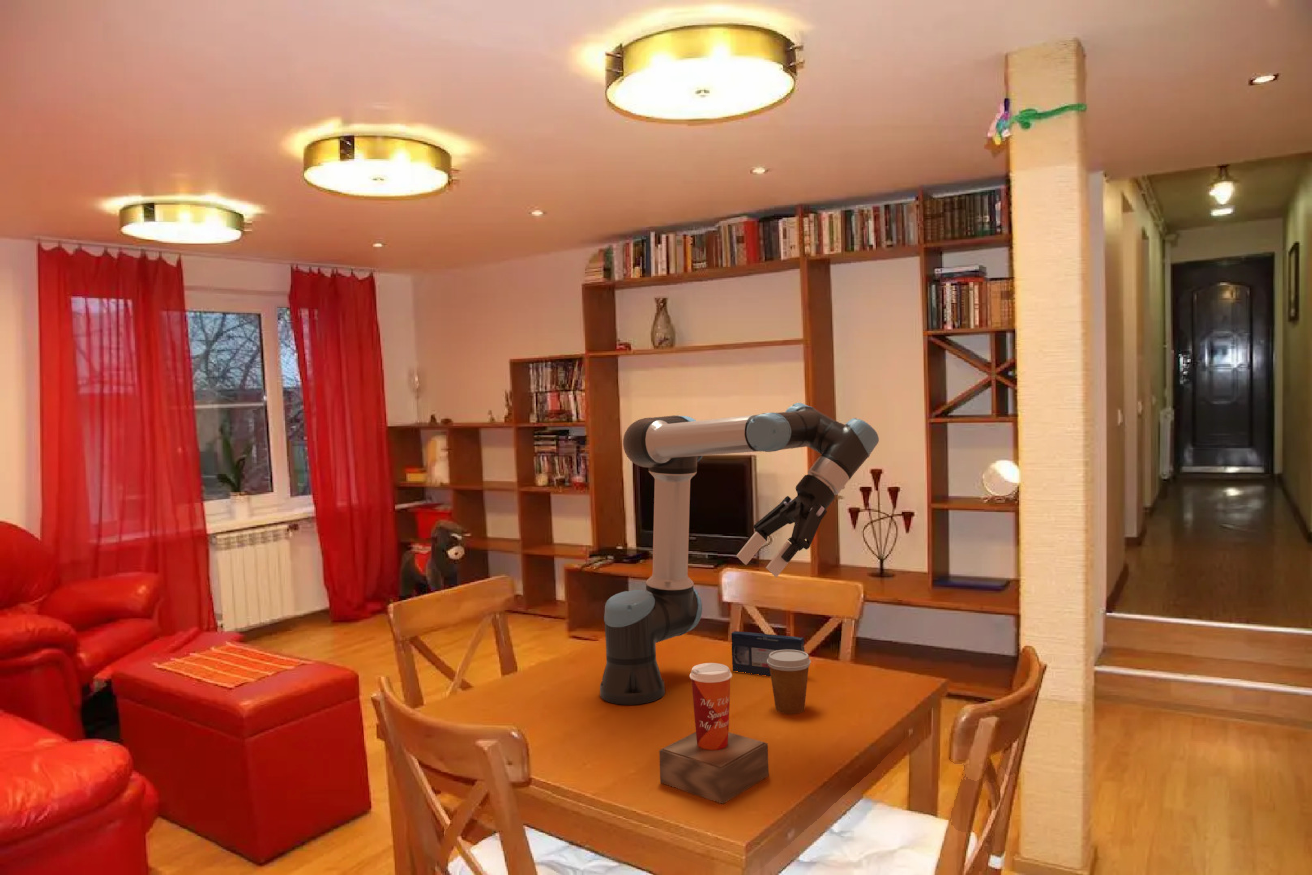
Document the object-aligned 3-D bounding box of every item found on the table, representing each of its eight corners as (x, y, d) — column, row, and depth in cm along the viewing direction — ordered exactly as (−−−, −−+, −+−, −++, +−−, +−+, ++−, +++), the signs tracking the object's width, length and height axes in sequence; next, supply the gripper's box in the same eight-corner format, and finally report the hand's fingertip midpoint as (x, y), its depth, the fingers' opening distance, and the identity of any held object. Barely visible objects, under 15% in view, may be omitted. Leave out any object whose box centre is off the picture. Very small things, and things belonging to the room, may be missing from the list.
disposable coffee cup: (811, 717, 190) (810, 662, 189) (766, 715, 192) (765, 661, 191) (812, 702, 199) (811, 649, 199) (769, 700, 201) (768, 648, 200)
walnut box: (660, 782, 161) (659, 748, 161) (707, 756, 171) (706, 725, 171) (722, 804, 152) (721, 768, 151) (768, 775, 162) (767, 741, 162)
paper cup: (704, 756, 157) (702, 677, 156) (683, 741, 163) (681, 666, 163) (742, 747, 160) (740, 670, 159) (720, 732, 167) (718, 659, 166)
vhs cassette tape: (731, 672, 223) (730, 632, 222) (736, 668, 225) (735, 629, 225) (801, 681, 214) (800, 640, 213) (806, 677, 216) (804, 637, 216)
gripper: (867, 503, 168) (798, 590, 164) (803, 491, 192) (741, 567, 187) (841, 477, 166) (771, 565, 162) (780, 468, 190) (717, 544, 185)
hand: (755, 566), depth 175 cm, fingers open, 13 cm apart
